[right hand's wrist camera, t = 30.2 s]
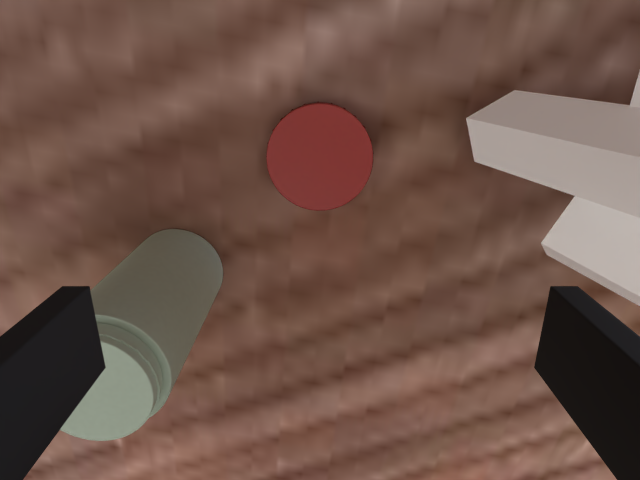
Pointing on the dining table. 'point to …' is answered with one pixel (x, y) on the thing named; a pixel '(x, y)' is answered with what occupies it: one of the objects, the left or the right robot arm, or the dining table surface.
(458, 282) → the dining table surface
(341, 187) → the lid
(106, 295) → the jar
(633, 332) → the right robot arm
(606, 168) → the pile of blocks
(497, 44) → the dining table surface
